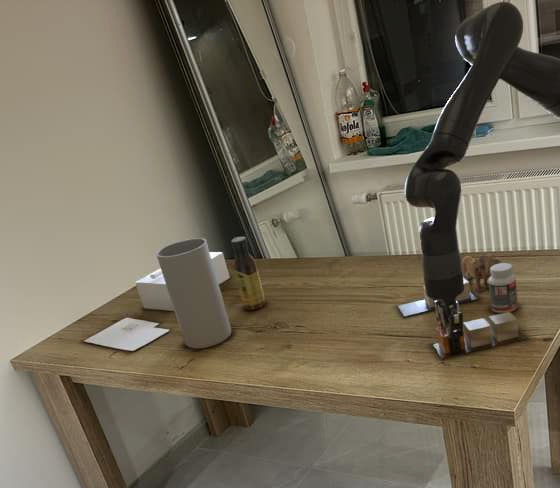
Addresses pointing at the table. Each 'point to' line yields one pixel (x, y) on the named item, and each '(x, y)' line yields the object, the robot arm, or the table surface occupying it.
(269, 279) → the table surface
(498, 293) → the pill bottle
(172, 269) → the cylinder vase
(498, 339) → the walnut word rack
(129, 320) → the paper
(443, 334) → the orange cube
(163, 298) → the tissue box
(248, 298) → the sauce bottle
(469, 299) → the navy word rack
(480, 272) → the lion figurine
